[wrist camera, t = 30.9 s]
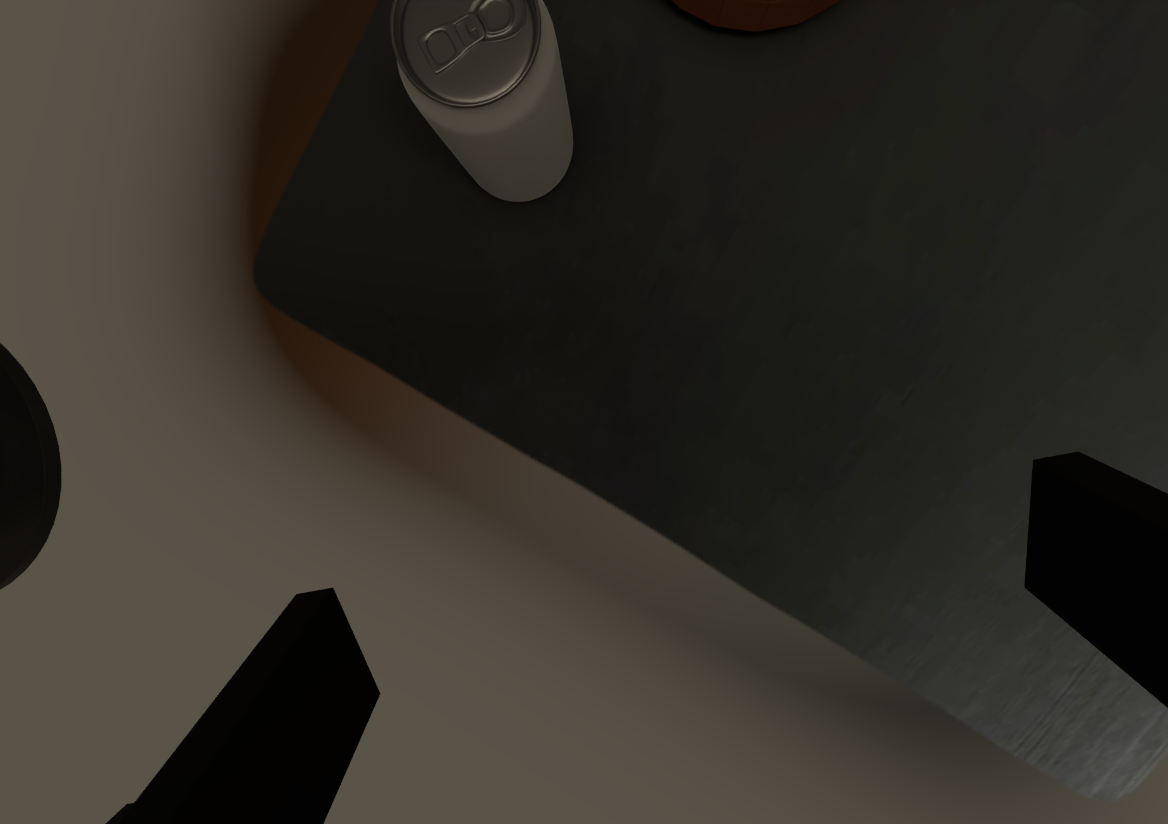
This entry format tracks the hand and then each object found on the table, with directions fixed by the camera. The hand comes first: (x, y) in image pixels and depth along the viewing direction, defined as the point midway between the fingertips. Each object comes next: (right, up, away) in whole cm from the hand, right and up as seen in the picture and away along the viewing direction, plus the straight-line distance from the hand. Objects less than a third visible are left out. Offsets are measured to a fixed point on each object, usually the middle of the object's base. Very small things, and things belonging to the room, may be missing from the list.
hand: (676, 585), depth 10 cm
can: (-6, +19, +22) cm, 29 cm away
